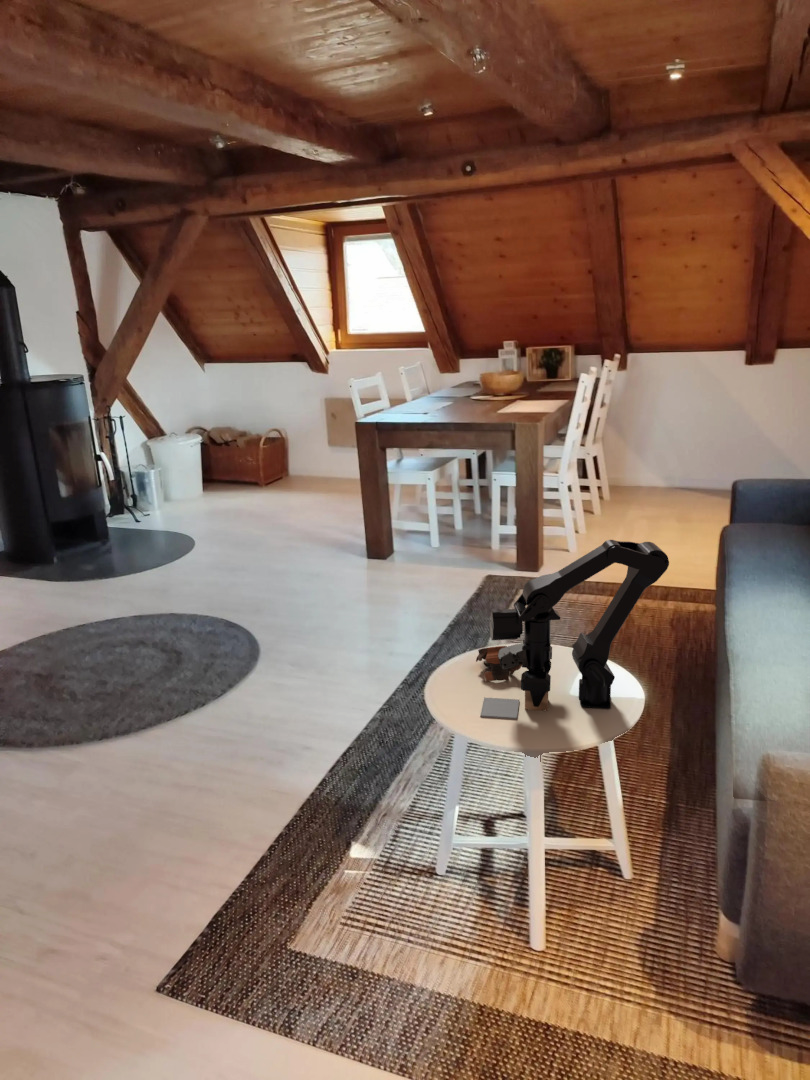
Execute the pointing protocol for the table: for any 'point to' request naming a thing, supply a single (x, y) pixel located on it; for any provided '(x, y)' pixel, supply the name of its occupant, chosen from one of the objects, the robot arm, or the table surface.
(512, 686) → the table surface
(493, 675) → the pottery mug
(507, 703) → the felt coaster
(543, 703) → the walnut block
